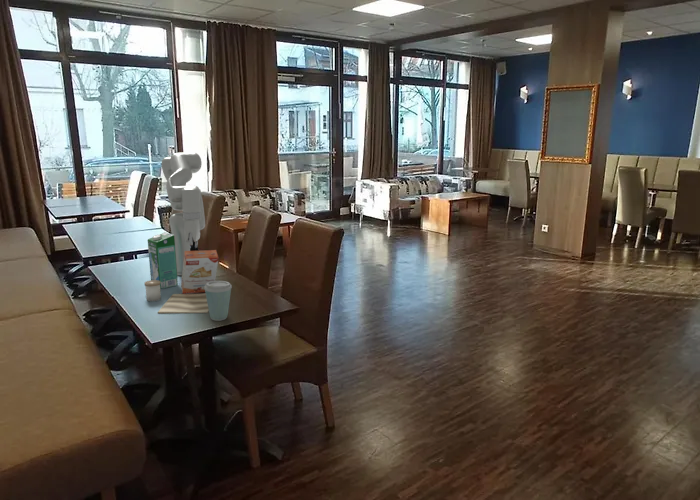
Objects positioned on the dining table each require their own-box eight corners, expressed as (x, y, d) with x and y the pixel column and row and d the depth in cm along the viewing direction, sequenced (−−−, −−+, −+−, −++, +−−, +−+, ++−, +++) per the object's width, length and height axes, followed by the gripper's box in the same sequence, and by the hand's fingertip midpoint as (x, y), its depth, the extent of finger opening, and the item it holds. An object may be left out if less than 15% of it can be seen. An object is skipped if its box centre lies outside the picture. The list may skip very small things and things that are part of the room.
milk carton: (151, 285, 237) (146, 234, 231) (168, 281, 243) (165, 231, 237) (160, 289, 231) (156, 237, 225) (178, 285, 237) (174, 234, 231)
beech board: (173, 295, 223) (173, 293, 223) (217, 294, 225) (217, 293, 224) (157, 313, 201) (157, 312, 201) (207, 312, 202) (207, 311, 202)
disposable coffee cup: (215, 312, 203) (213, 277, 200) (238, 315, 200) (236, 280, 197) (200, 321, 194) (198, 284, 190) (224, 324, 191) (222, 287, 187)
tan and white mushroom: (148, 296, 221) (147, 280, 219) (163, 296, 221) (162, 280, 219) (143, 301, 214) (142, 284, 212) (159, 301, 215) (157, 284, 213)
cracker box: (182, 294, 222) (186, 258, 210) (180, 286, 226) (183, 250, 214) (214, 292, 228) (219, 257, 217) (211, 283, 232) (216, 249, 221)
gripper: (187, 213, 224) (189, 252, 229) (179, 218, 210) (181, 260, 214) (204, 213, 225) (206, 252, 229) (196, 218, 211) (199, 260, 215)
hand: (194, 255), depth 222 cm, fingers closed
